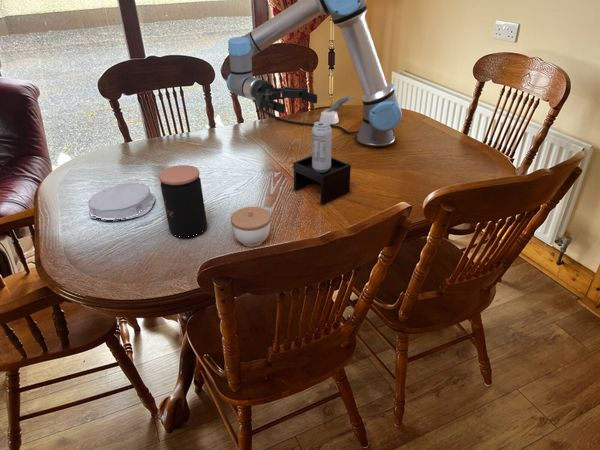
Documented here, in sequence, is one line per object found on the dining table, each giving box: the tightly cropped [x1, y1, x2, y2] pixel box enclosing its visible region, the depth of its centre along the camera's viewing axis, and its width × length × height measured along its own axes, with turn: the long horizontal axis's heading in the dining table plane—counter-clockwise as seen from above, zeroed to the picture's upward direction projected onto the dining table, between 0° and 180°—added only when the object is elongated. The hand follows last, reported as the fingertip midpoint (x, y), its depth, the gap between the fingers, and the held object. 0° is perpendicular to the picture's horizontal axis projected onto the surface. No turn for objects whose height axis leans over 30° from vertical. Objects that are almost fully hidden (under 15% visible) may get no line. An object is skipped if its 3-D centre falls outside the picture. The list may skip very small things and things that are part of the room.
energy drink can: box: [311, 120, 333, 172], centre depth 140 cm, size 6×6×15 cm
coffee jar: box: [158, 164, 208, 240], centre depth 125 cm, size 11×11×18 cm
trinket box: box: [230, 206, 272, 248], centre depth 122 cm, size 11×11×9 cm
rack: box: [292, 155, 352, 206], centre depth 146 cm, size 14×12×10 cm
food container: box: [87, 182, 156, 221], centre depth 140 cm, size 20×20×7 cm
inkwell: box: [318, 95, 355, 125], centre depth 205 cm, size 9×18×10 cm, turn 121°
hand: (300, 103), depth 140 cm, fingers open, 13 cm apart
